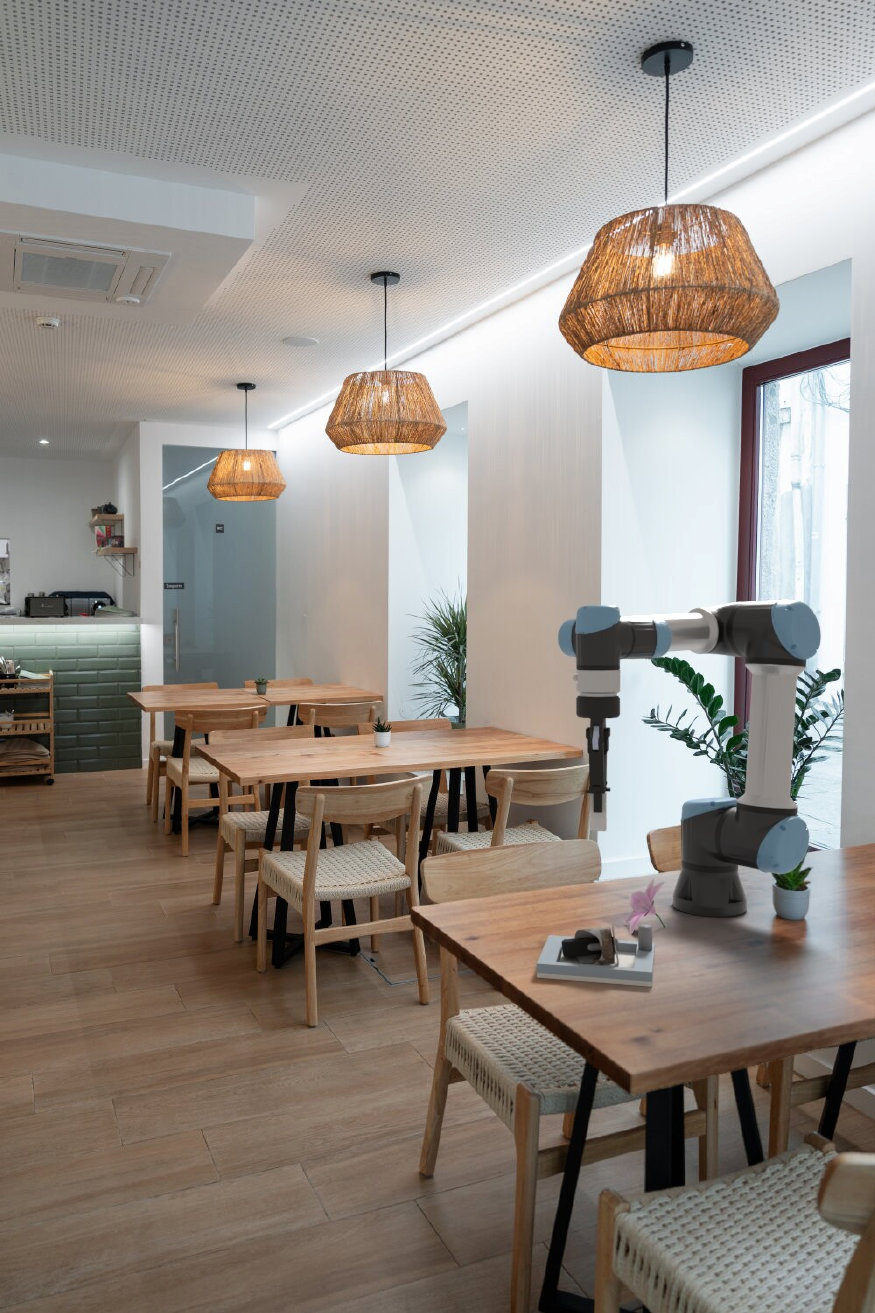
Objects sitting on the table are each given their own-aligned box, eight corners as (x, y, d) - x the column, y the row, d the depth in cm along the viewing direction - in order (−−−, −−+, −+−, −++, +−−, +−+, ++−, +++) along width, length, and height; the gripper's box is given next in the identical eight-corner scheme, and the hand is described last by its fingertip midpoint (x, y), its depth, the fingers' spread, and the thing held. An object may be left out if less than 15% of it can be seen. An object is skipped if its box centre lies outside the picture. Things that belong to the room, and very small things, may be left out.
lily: (634, 921, 203) (613, 882, 201) (687, 905, 198) (667, 865, 196) (628, 956, 192) (606, 916, 190) (684, 940, 187) (662, 899, 186)
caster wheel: (566, 965, 178) (622, 959, 176) (562, 972, 167) (621, 967, 165) (561, 927, 179) (616, 921, 177) (556, 932, 168) (615, 925, 166)
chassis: (654, 956, 177) (654, 920, 177) (652, 987, 162) (652, 948, 162) (548, 948, 182) (549, 913, 182) (536, 977, 166) (536, 939, 166)
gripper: (579, 692, 178) (580, 822, 179) (572, 696, 165) (572, 836, 166) (622, 692, 176) (622, 823, 177) (617, 697, 164) (618, 838, 164)
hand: (598, 830), depth 171 cm, fingers closed
